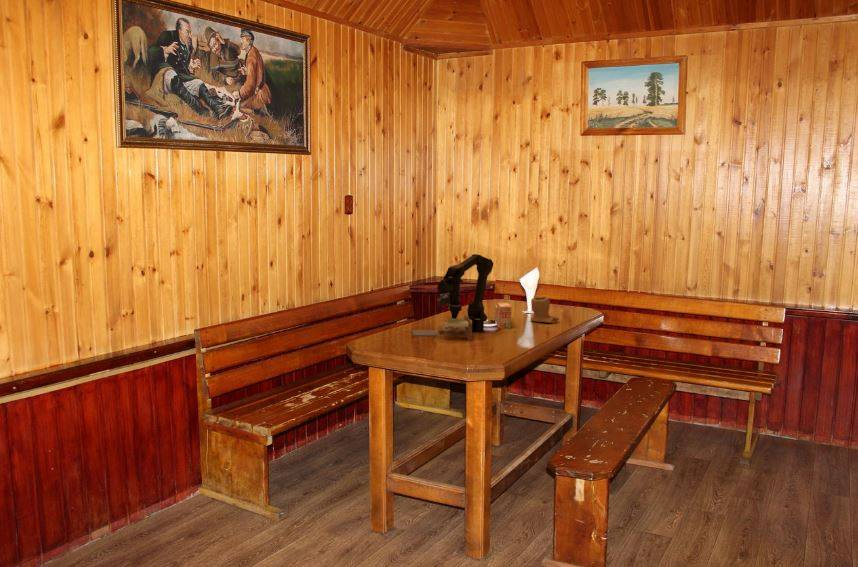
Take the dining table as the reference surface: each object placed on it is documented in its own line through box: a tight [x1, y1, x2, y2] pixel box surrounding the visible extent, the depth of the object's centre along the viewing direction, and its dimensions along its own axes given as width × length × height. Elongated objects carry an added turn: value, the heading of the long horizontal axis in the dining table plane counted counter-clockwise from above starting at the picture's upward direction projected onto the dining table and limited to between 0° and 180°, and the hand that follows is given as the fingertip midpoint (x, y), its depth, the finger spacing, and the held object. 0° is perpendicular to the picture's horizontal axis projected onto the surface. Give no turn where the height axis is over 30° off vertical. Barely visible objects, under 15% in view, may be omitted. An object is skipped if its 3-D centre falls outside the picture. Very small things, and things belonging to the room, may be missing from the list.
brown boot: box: [530, 295, 560, 324], centre depth 422 cm, size 15×12×15 cm
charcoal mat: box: [412, 329, 438, 338], centre depth 382 cm, size 12×12×1 cm
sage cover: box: [443, 317, 469, 326], centre depth 372 cm, size 12×8×3 cm, turn 93°
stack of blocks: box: [494, 302, 513, 329], centre depth 413 cm, size 21×6×12 cm, turn 3°
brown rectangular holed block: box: [437, 313, 473, 341], centre depth 381 cm, size 16×25×9 cm, turn 3°
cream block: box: [447, 326, 457, 330], centre depth 388 cm, size 4×4×6 cm
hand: (453, 321), depth 377 cm, fingers closed
